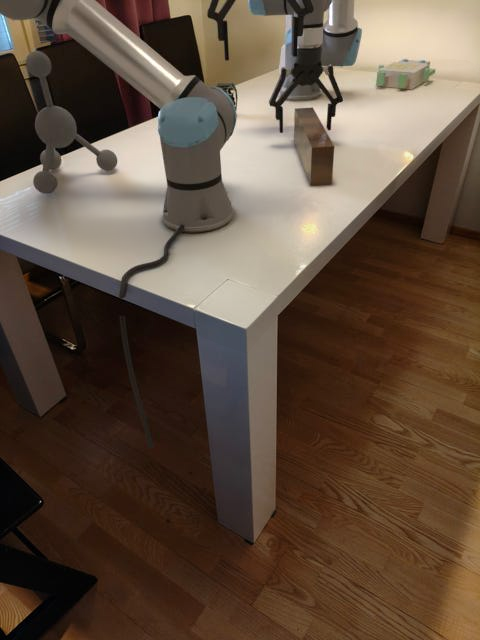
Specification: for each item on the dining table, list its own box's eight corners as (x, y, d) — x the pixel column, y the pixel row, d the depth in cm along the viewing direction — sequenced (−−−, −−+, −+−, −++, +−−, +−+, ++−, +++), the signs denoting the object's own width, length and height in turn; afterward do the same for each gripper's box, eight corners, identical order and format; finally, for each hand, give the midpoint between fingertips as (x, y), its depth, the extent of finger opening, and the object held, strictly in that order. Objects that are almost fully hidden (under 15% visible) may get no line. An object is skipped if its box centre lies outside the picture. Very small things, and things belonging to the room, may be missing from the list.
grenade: (217, 117, 168) (214, 86, 162) (221, 112, 172) (219, 82, 166) (235, 117, 166) (233, 86, 160) (239, 113, 171) (238, 82, 165)
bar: (331, 184, 118) (334, 146, 113) (310, 185, 118) (311, 147, 113) (311, 139, 145) (312, 107, 139) (293, 140, 145) (294, 108, 139)
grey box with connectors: (392, 57, 203) (441, 60, 193) (390, 73, 207) (438, 78, 197) (367, 69, 187) (418, 73, 177) (365, 87, 191) (415, 92, 181)
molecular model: (127, 184, 124) (101, 51, 106) (38, 200, 118) (-6, 64, 100) (112, 155, 142) (87, 38, 123) (33, 169, 136) (-5, 48, 118)
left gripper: (325, -82, 88) (318, 50, 101) (187, -76, 87) (198, 57, 100) (334, -84, 82) (326, 57, 95) (186, -77, 81) (198, 64, 94)
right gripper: (352, 41, 129) (345, 124, 142) (258, 46, 129) (260, 128, 142) (359, 45, 123) (351, 131, 136) (260, 50, 123) (262, 136, 136)
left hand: (260, 57), depth 98 cm, fingers open, 13 cm apart
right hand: (304, 130), depth 139 cm, fingers open, 13 cm apart
